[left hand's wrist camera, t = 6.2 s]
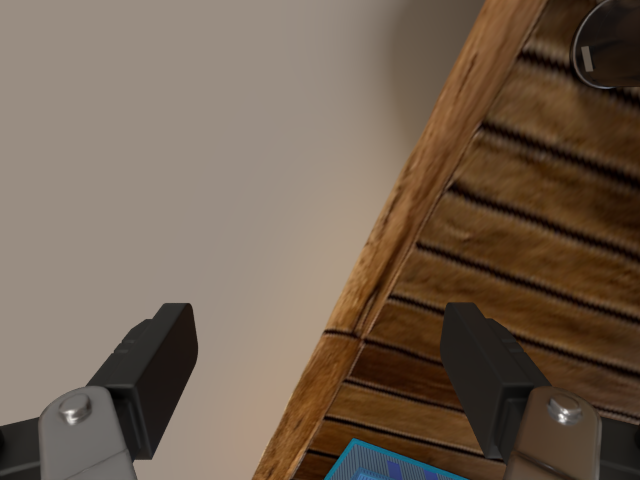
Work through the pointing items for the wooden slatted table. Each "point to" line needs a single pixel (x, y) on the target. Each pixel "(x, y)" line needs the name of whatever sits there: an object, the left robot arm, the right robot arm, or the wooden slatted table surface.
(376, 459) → the model building
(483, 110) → the wooden slatted table surface
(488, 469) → the wooden slatted table surface
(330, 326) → the wooden slatted table surface
